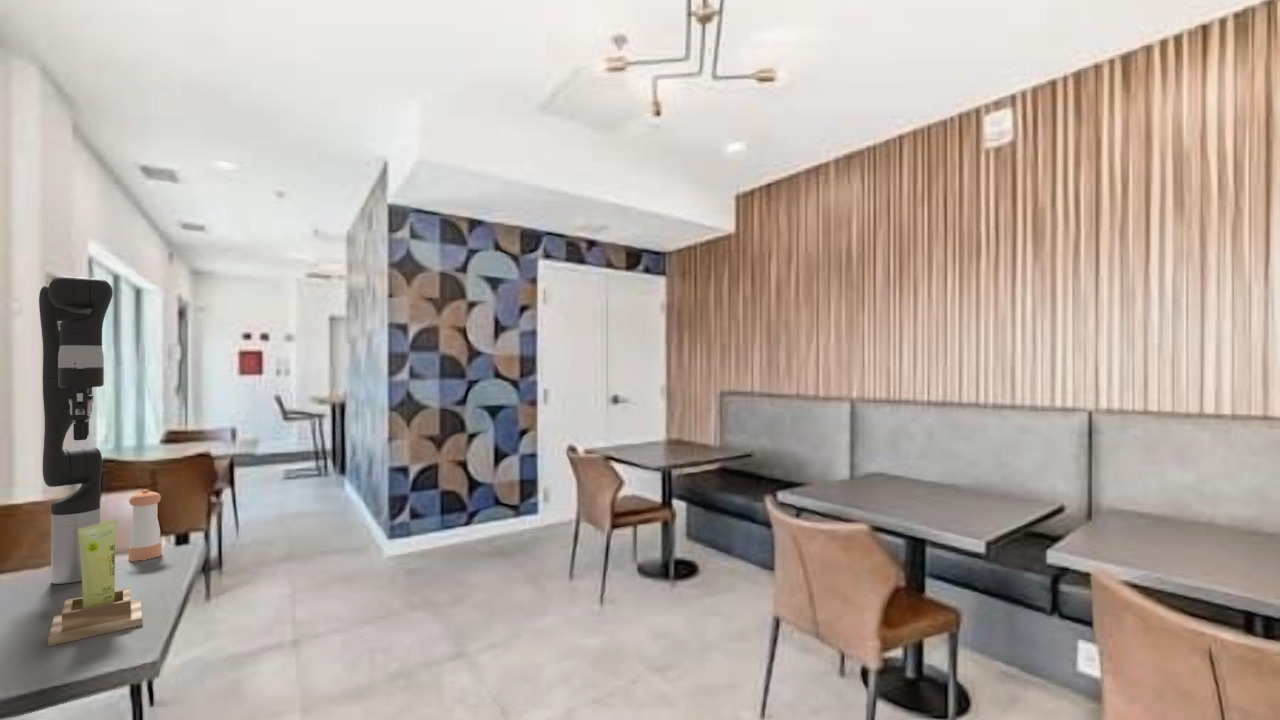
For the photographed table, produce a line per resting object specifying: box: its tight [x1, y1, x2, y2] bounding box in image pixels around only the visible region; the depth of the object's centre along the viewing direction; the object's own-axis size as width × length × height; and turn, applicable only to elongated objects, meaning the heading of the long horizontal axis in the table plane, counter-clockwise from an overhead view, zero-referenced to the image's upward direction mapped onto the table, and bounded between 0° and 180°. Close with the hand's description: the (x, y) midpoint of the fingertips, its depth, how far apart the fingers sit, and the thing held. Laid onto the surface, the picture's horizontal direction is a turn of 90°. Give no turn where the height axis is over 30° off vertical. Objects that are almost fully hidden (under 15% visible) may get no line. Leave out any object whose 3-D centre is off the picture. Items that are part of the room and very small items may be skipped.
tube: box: [78, 519, 118, 608], centre depth 127 cm, size 6×5×20 cm
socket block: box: [47, 587, 143, 647], centre depth 126 cm, size 14×14×5 cm
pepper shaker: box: [128, 489, 163, 562], centre depth 172 cm, size 7×7×19 cm
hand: (81, 438), depth 135 cm, fingers open, 8 cm apart
